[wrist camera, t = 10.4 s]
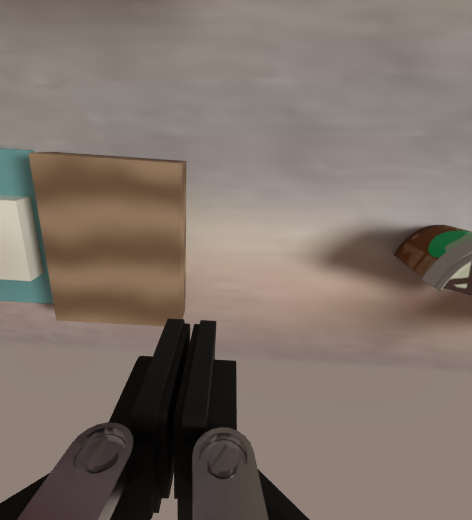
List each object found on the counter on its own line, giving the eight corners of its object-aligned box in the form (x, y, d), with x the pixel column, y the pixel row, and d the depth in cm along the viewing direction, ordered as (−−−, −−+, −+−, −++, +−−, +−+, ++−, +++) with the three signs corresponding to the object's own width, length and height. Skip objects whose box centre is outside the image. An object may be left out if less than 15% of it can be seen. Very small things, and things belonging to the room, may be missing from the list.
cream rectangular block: (15, 200, 31) (30, 197, 33) (-45, 196, 31) (-26, 193, 33) (31, 281, 34) (43, 272, 36) (-24, 278, 34) (-8, 269, 36)
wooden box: (52, 152, 32) (28, 152, 28) (186, 161, 32) (179, 163, 28) (73, 303, 38) (56, 320, 34) (185, 309, 39) (179, 327, 35)
